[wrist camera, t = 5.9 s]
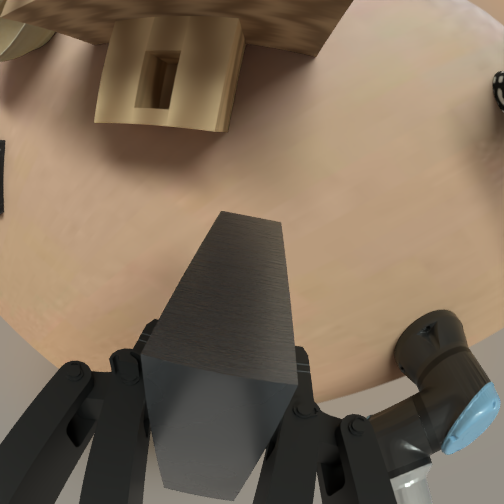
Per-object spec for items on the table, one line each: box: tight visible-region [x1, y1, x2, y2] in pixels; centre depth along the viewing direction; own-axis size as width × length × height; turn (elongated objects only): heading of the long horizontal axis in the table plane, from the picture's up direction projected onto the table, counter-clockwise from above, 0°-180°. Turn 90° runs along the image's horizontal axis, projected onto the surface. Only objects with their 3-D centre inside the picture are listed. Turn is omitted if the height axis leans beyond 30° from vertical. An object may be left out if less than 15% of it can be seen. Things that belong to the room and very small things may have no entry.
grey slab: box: [141, 211, 298, 501], centre depth 14 cm, size 3×9×16 cm, turn 169°
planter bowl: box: [0, 0, 55, 62], centre depth 20 cm, size 16×16×11 cm
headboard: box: [0, 0, 353, 132], centre depth 21 cm, size 32×16×20 cm, turn 80°
